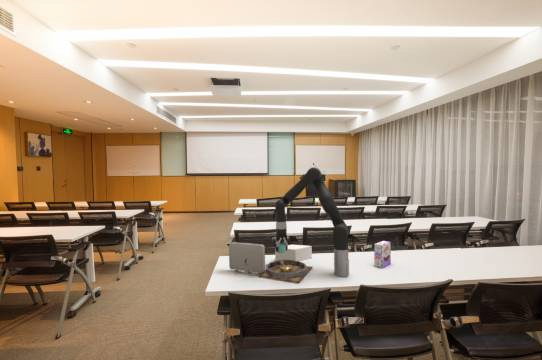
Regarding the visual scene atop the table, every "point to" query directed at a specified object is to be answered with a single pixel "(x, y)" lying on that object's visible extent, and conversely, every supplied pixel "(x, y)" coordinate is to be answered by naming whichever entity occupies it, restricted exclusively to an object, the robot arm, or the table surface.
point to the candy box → (382, 254)
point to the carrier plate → (277, 269)
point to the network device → (247, 258)
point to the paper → (295, 253)
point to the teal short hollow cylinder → (281, 248)
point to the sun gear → (286, 268)
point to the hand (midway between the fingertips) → (281, 251)
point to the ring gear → (284, 275)
